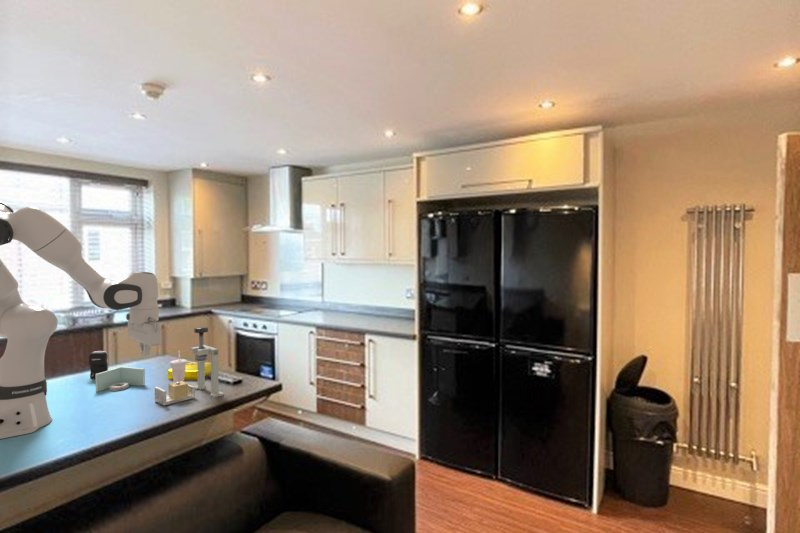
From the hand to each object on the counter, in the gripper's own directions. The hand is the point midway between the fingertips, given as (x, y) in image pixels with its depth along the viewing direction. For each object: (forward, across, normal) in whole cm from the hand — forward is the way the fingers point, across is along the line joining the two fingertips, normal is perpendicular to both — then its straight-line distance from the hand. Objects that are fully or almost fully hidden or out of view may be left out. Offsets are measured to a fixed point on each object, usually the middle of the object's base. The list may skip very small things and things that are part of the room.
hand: (145, 354), depth 159 cm
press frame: (+19, 0, -20) cm, 28 cm away
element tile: (+20, +28, -30) cm, 45 cm away
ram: (+6, 0, -20) cm, 21 cm away
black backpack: (+19, +54, -1) cm, 57 cm away
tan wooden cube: (+18, 0, -11) cm, 21 cm away
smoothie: (+19, +19, -20) cm, 34 cm away
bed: (+19, 0, -10) cm, 21 cm away
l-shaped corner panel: (+20, +31, -2) cm, 37 cm away
